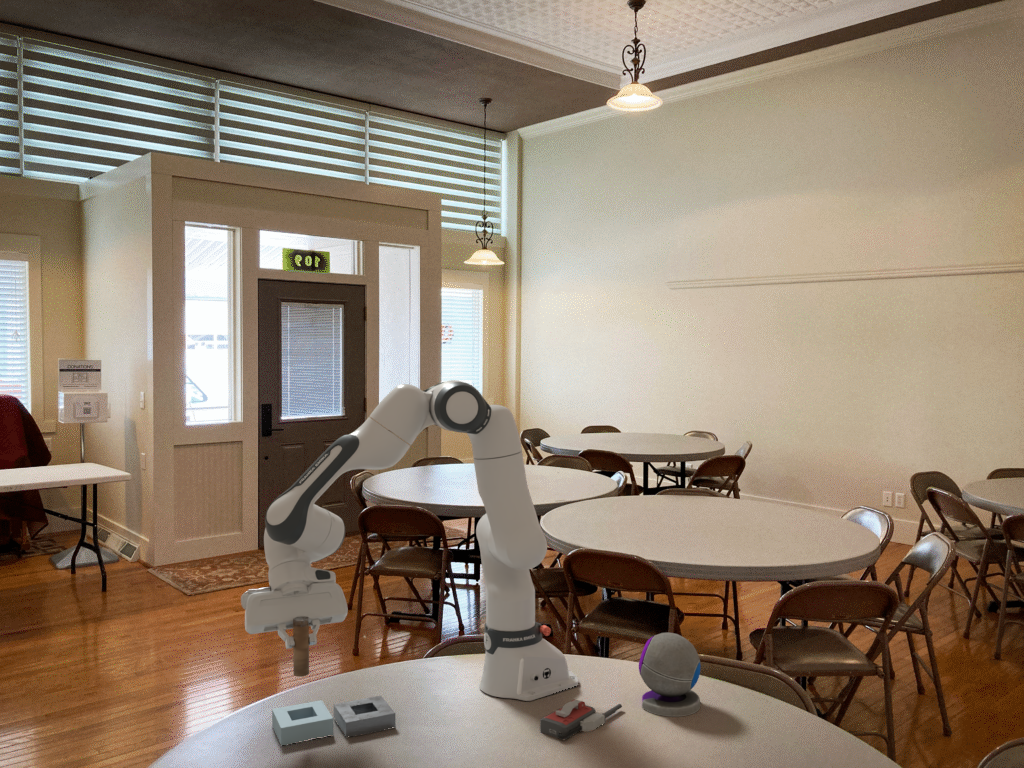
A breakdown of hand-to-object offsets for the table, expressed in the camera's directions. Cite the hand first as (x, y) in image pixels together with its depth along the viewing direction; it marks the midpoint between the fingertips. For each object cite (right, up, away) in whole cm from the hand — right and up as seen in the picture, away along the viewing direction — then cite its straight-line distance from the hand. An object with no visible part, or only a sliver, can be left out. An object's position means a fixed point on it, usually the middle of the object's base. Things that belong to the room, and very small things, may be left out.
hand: (301, 645), depth 162 cm
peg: (0, -6, +1) cm, 6 cm away
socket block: (+12, -17, +4) cm, 21 cm away
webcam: (+75, -17, +13) cm, 78 cm away
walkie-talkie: (+56, -17, +4) cm, 58 cm away
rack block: (0, -17, +1) cm, 17 cm away
